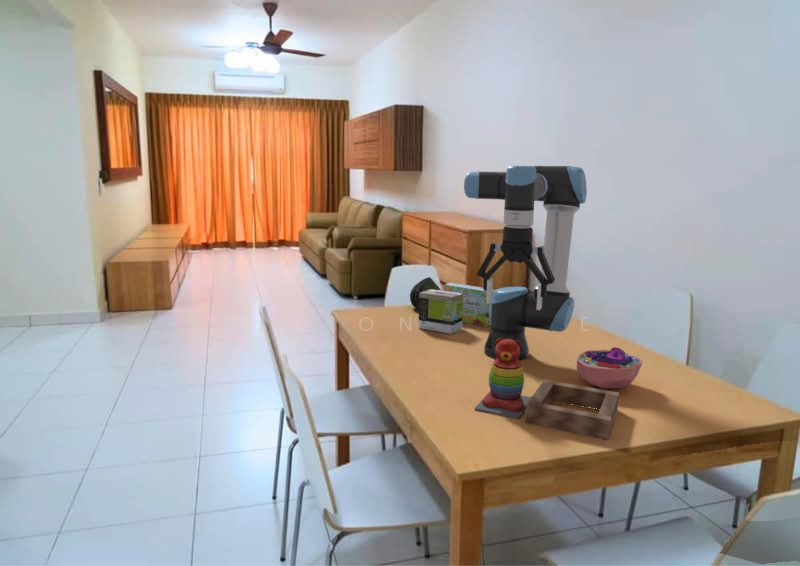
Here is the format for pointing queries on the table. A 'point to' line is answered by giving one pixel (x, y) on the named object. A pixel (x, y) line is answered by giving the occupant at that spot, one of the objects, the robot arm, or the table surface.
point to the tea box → (441, 311)
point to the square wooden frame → (569, 418)
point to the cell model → (608, 368)
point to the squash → (421, 290)
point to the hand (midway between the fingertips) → (513, 305)
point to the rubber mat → (503, 409)
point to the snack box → (473, 303)
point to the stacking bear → (506, 377)
